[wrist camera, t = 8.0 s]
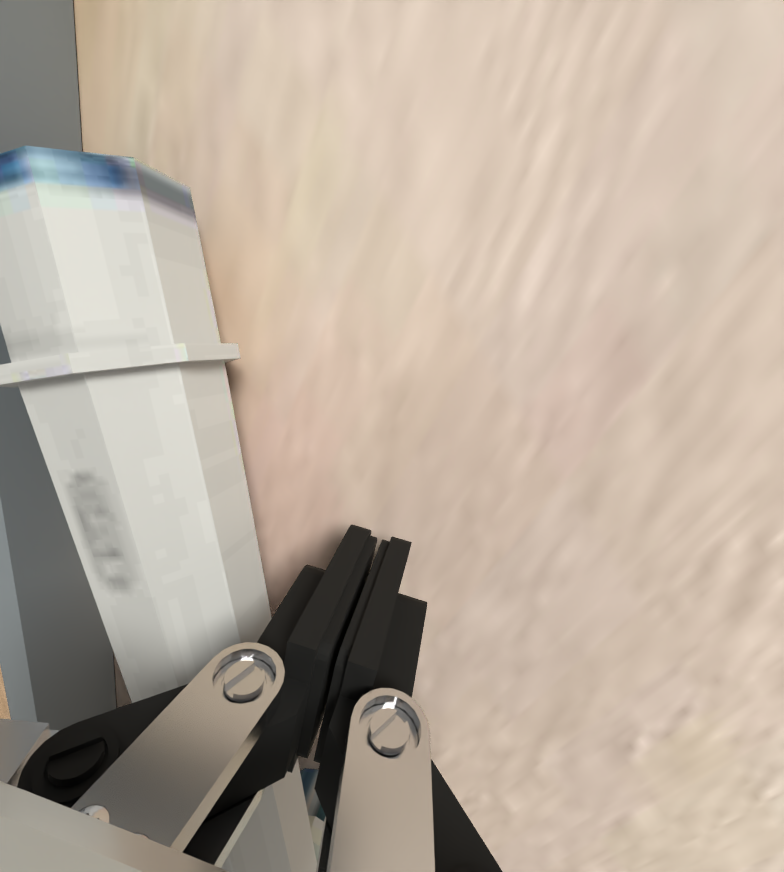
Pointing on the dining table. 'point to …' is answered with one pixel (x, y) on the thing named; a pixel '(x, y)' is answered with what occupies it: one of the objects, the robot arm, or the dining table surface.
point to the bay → (15, 437)
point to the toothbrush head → (141, 433)
